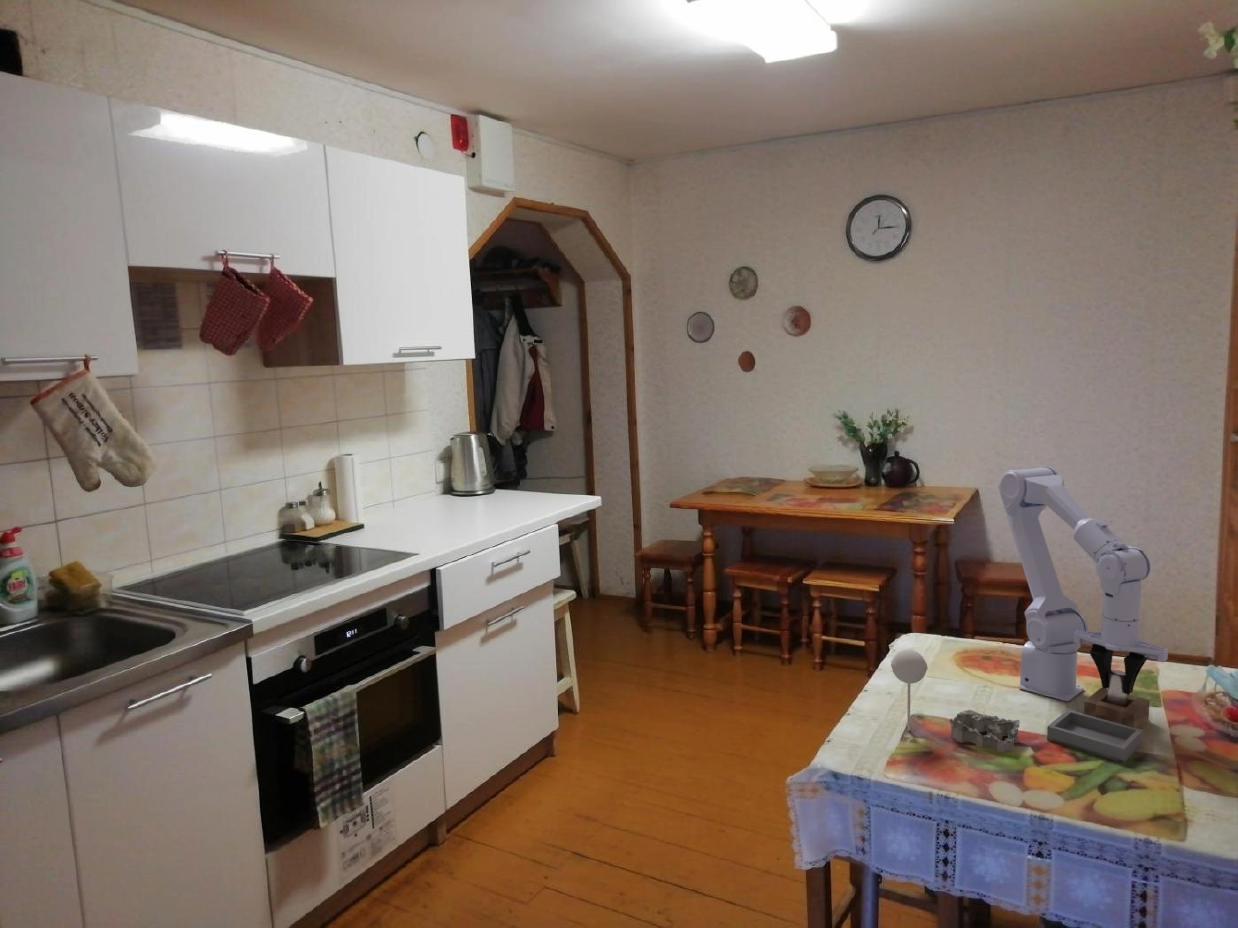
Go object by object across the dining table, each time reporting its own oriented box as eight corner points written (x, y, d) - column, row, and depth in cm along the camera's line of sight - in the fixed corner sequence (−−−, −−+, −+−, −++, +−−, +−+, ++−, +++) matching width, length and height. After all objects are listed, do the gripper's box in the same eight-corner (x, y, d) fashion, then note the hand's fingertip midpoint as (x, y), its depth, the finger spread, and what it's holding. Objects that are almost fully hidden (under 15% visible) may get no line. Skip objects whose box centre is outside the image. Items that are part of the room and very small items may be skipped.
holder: (1083, 722, 154) (1084, 701, 153) (1100, 707, 159) (1101, 687, 158) (1133, 736, 148) (1134, 714, 147) (1148, 720, 153) (1149, 699, 152)
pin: (1103, 715, 153) (1105, 673, 152) (1110, 710, 155) (1111, 668, 154) (1122, 720, 151) (1124, 677, 150) (1128, 715, 153) (1130, 672, 152)
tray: (1046, 739, 148) (1047, 726, 148) (1067, 722, 154) (1068, 709, 154) (1123, 763, 139) (1124, 748, 139) (1142, 743, 145) (1142, 730, 145)
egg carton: (946, 741, 150) (946, 719, 149) (960, 724, 156) (960, 703, 155) (1010, 757, 143) (1010, 734, 143) (1022, 739, 149) (1023, 717, 148)
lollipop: (928, 725, 155) (929, 646, 153) (925, 740, 150) (926, 658, 148) (892, 720, 158) (893, 642, 155) (888, 734, 152) (888, 654, 150)
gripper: (1068, 613, 153) (1065, 685, 155) (1160, 631, 143) (1155, 708, 145) (1083, 603, 158) (1080, 673, 160) (1173, 620, 147) (1169, 695, 149)
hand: (1117, 689), depth 153 cm, fingers closed on pin, 3 cm apart
